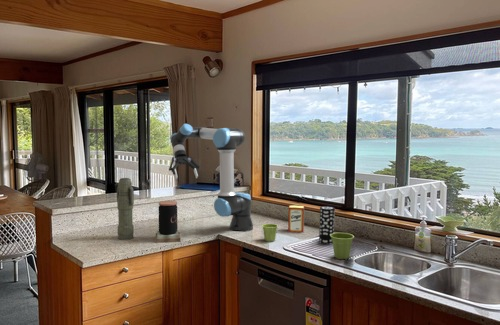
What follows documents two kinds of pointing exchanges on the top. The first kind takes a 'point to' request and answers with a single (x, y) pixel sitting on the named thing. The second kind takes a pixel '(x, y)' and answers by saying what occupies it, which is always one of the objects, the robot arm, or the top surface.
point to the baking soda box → (296, 218)
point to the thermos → (125, 209)
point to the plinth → (167, 237)
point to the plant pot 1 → (269, 231)
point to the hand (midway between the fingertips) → (187, 177)
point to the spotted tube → (326, 224)
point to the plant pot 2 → (342, 244)
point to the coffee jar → (167, 217)
